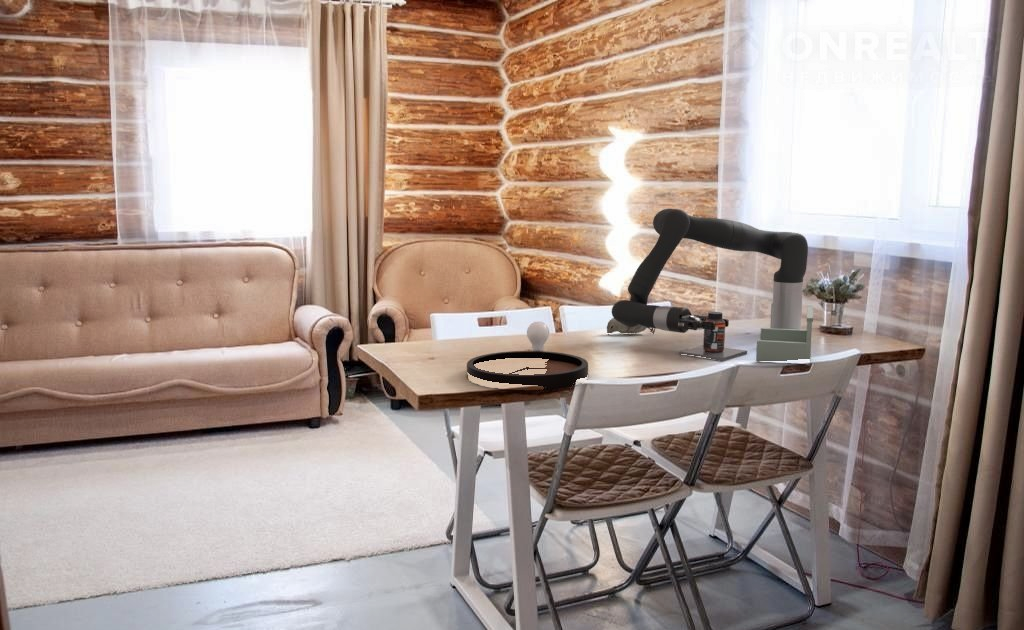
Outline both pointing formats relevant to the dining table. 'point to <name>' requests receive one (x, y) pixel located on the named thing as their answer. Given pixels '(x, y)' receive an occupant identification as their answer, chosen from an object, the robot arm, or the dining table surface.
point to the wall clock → (557, 376)
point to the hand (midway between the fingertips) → (721, 324)
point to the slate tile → (715, 353)
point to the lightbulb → (538, 335)
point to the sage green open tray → (785, 343)
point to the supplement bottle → (714, 333)
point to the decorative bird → (624, 327)
